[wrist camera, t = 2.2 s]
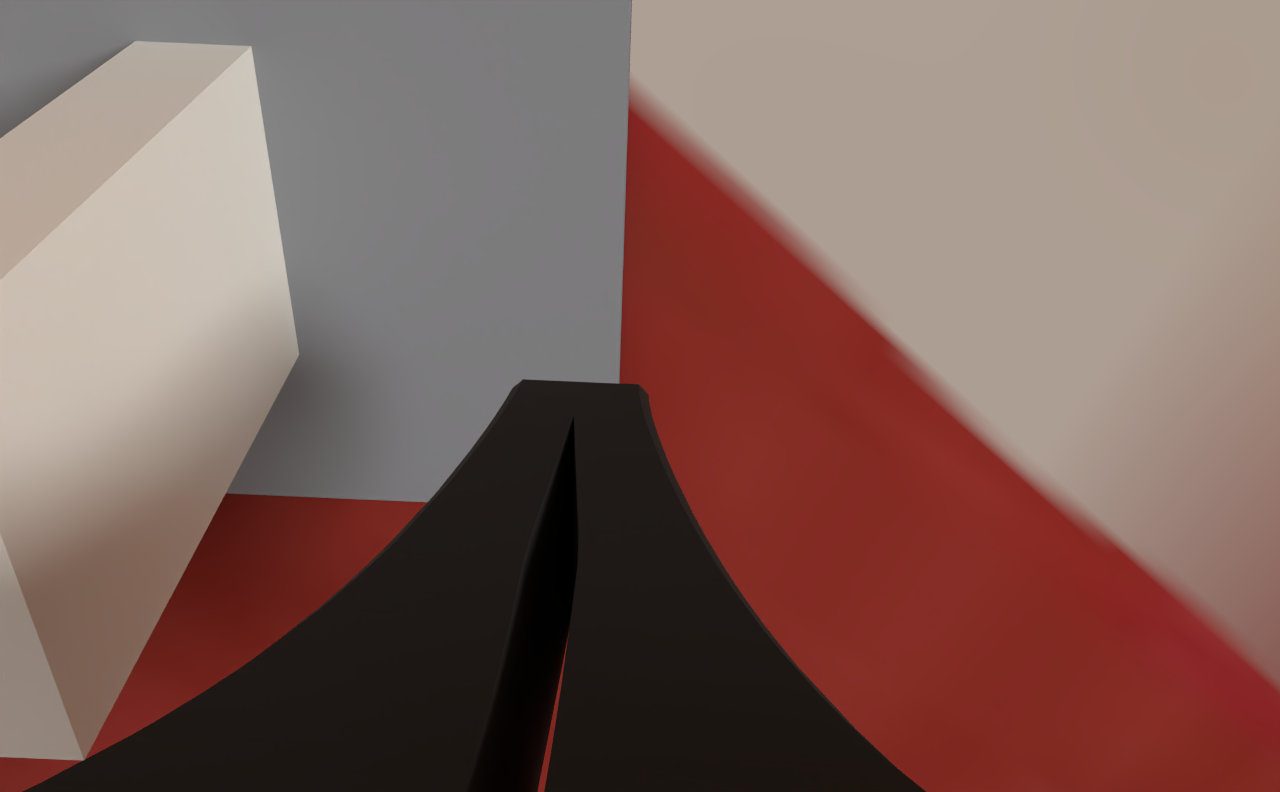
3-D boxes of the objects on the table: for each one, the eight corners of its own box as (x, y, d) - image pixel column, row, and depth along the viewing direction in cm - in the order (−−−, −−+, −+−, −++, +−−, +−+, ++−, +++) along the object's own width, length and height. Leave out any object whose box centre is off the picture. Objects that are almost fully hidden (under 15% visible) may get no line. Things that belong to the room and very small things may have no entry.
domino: (251, 45, 15) (-70, 344, 9) (299, 354, 18) (84, 760, 11) (135, 41, 15) (-273, 335, 9) (200, 349, 18) (-72, 754, 11)
